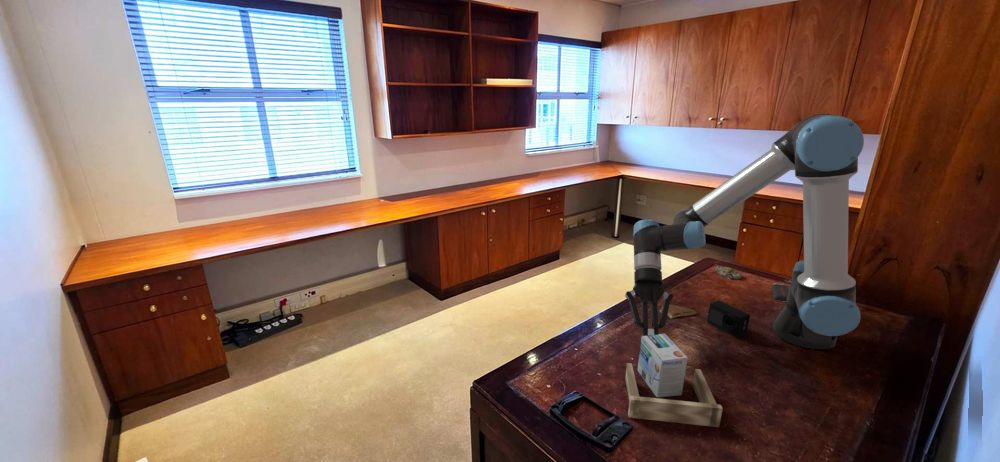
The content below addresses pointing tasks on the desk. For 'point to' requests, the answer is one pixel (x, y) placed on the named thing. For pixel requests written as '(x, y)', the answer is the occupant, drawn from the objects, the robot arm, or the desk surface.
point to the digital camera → (728, 318)
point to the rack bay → (674, 404)
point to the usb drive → (780, 292)
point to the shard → (678, 311)
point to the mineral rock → (728, 272)
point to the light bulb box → (662, 365)
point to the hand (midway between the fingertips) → (651, 354)
